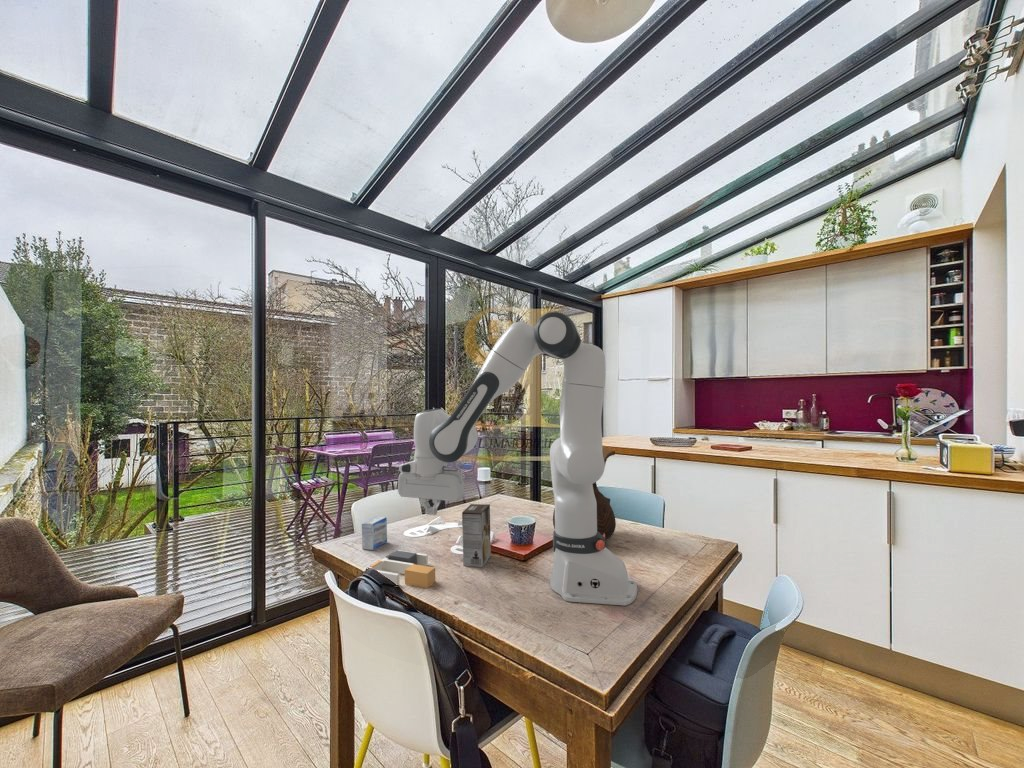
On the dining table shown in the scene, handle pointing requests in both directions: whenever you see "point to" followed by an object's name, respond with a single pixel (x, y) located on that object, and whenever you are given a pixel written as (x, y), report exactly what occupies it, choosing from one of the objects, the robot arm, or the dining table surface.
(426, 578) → the tan wooden block
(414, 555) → the slate gray rubber brick
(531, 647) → the dining table surface
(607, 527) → the jug
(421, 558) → the rack
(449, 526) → the white flat shape
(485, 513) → the coffee box
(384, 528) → the medicine box
